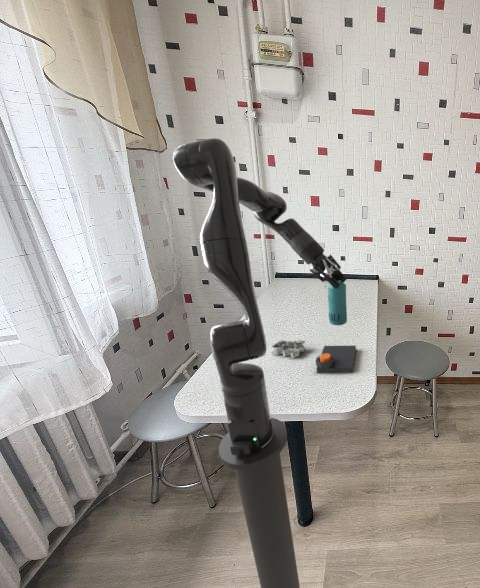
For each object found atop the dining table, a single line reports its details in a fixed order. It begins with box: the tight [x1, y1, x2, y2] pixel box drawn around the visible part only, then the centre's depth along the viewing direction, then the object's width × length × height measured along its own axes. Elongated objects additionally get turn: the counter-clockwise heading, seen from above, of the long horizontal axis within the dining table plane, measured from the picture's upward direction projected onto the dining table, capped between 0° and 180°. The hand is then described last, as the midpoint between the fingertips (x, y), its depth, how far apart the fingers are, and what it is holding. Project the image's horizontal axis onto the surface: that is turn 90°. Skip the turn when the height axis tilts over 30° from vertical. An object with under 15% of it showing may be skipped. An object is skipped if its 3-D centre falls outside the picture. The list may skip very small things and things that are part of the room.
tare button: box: [319, 353, 331, 363], centre depth 116 cm, size 4×4×2 cm
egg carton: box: [271, 339, 306, 359], centre depth 125 cm, size 11×8×4 cm
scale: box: [315, 345, 357, 374], centre depth 121 cm, size 15×13×4 cm
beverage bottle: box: [327, 271, 348, 326], centre depth 116 cm, size 6×7×20 cm
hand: (341, 283), depth 113 cm, fingers closed on beverage bottle, 6 cm apart
